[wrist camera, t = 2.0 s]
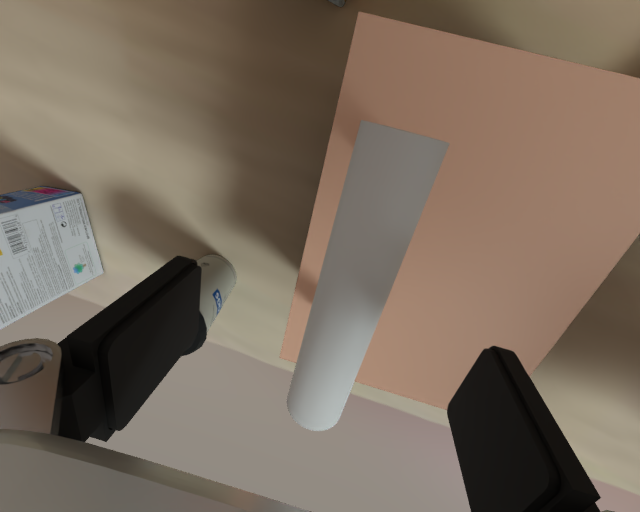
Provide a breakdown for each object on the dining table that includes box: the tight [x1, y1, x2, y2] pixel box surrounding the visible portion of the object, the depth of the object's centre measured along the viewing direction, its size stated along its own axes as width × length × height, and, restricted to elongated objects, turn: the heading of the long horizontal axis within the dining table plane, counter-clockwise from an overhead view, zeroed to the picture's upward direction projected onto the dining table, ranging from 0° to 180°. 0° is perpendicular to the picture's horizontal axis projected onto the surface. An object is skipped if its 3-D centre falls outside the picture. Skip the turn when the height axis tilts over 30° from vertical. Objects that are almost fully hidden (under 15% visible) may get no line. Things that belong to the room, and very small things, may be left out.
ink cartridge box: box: [0, 186, 104, 329], centre depth 27 cm, size 10×6×14 cm, turn 176°
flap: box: [280, 12, 640, 431], centre depth 15 cm, size 16×21×8 cm
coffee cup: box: [182, 255, 237, 356], centre depth 28 cm, size 7×7×10 cm
